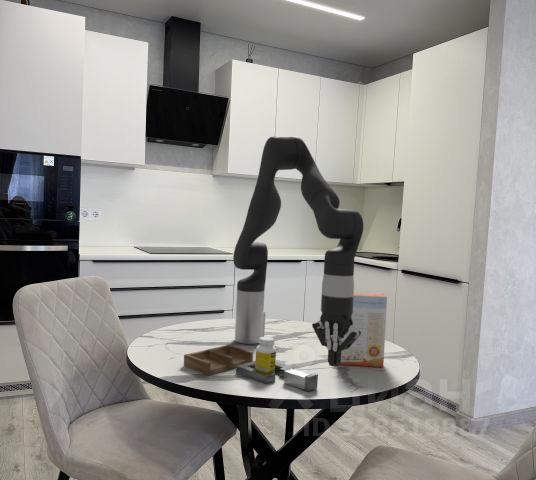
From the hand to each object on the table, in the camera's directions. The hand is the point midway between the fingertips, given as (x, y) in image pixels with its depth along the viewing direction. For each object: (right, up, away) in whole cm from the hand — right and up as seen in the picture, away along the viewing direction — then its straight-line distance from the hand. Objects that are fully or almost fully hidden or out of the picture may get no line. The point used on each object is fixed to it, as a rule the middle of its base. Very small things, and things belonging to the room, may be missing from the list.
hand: (333, 365), depth 120 cm
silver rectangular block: (-8, -7, +7) cm, 13 cm away
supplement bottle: (-17, -6, +15) cm, 24 cm away
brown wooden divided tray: (-30, -5, +22) cm, 37 cm away
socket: (-17, -6, +15) cm, 23 cm away
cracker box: (+11, -7, +29) cm, 32 cm away
